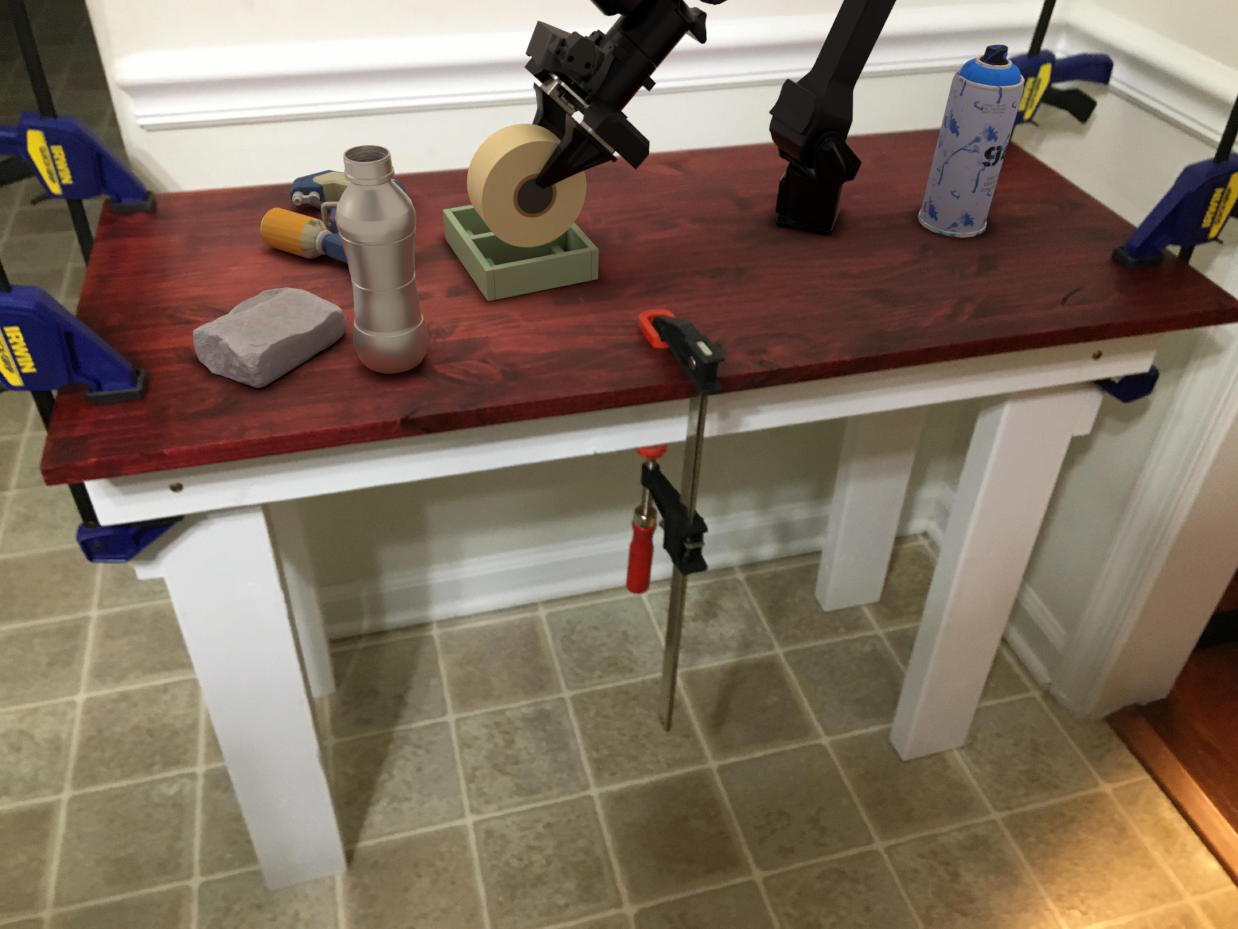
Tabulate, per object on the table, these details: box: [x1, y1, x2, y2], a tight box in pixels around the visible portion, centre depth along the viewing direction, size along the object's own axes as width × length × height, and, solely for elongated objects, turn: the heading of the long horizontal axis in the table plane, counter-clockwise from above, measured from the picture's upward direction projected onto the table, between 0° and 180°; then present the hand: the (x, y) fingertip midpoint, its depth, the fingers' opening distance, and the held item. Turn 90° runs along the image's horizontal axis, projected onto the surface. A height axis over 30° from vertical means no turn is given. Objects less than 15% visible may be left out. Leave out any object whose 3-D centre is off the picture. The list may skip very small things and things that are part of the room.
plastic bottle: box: [335, 144, 430, 375], centre depth 87 cm, size 6×7×20 cm
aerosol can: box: [917, 44, 1025, 239], centre depth 112 cm, size 8×8×20 cm
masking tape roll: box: [466, 123, 587, 247], centre depth 100 cm, size 11×5×11 cm, turn 115°
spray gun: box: [259, 169, 407, 265], centre depth 111 cm, size 21×4×15 cm
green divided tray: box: [442, 204, 600, 302], centre depth 108 cm, size 12×14×4 cm
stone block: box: [192, 286, 348, 389], centre depth 93 cm, size 12×5×10 cm
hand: (529, 175), depth 100 cm, fingers closed on masking tape roll, 5 cm apart
